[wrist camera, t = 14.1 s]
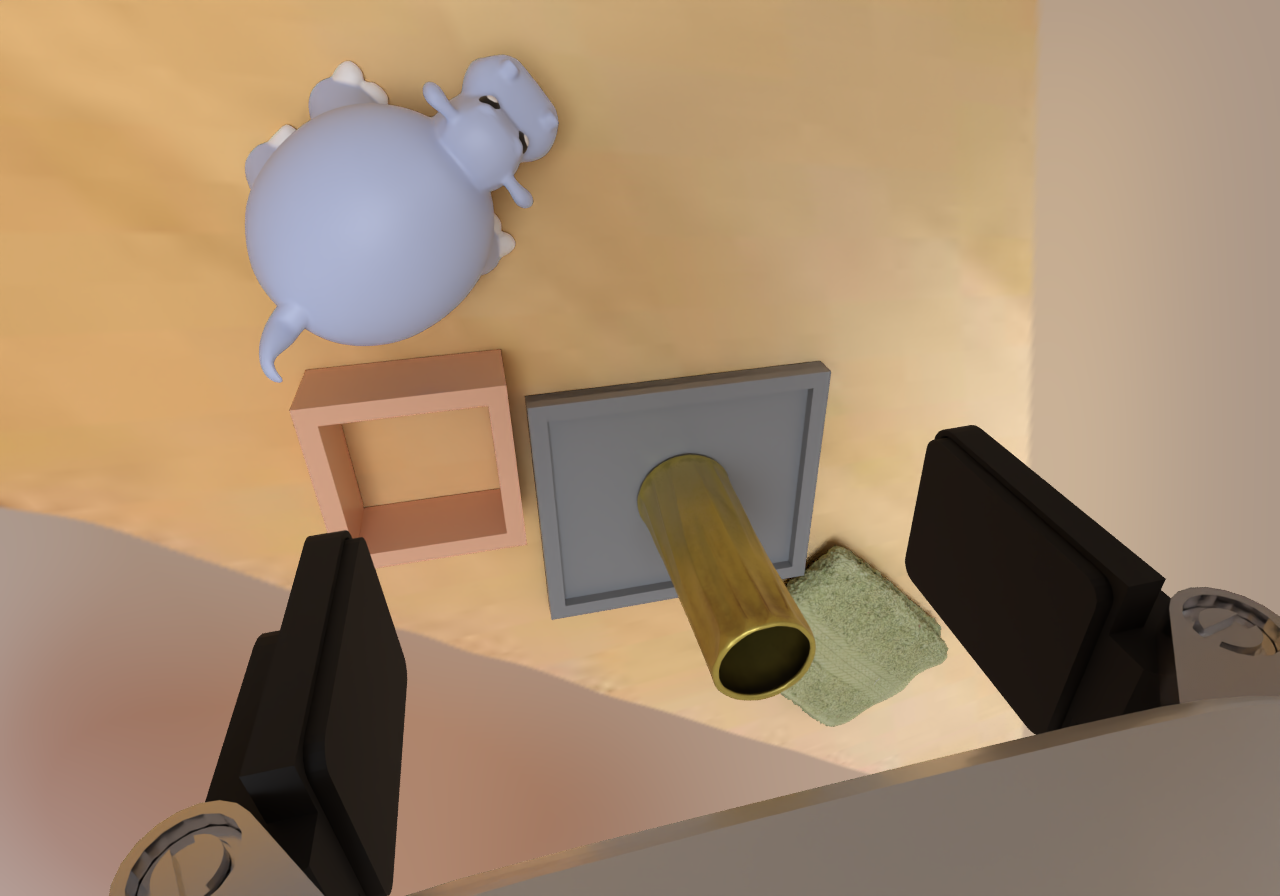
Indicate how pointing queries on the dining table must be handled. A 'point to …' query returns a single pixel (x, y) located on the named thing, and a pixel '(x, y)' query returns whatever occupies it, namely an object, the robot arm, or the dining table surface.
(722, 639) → the vase
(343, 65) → the hippopotamus toy
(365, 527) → the pink square frame
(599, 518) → the tray
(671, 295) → the dining table surface
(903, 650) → the washcloth
